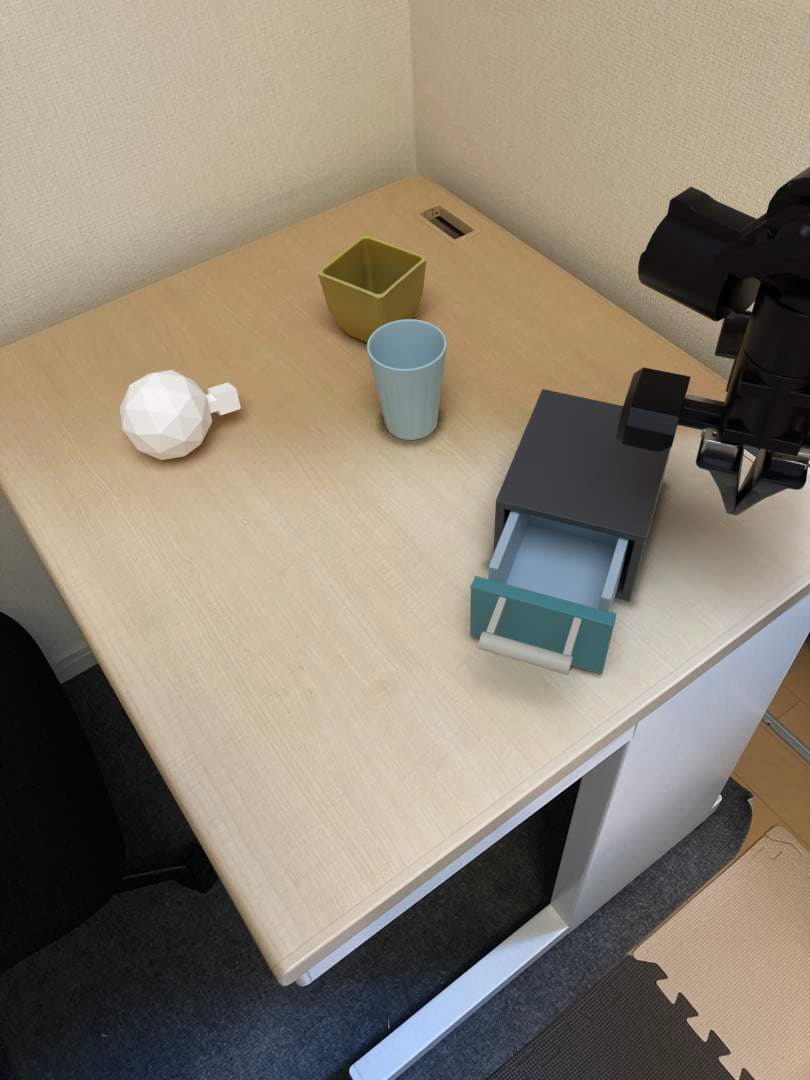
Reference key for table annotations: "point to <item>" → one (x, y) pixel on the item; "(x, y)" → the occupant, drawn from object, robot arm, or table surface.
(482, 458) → the table surface
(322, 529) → the table surface
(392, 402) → the cup
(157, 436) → the perfume bottle
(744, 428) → the robot arm
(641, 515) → the drawer cabinet
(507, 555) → the teal drawer
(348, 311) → the flower pot
